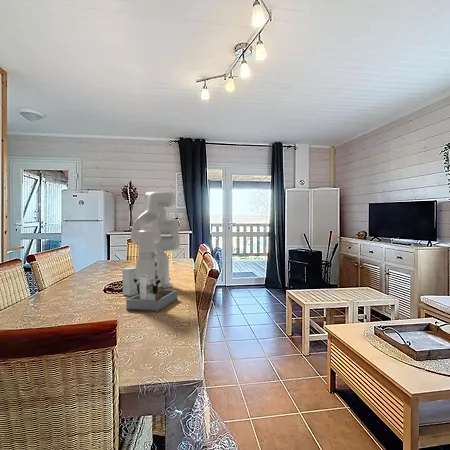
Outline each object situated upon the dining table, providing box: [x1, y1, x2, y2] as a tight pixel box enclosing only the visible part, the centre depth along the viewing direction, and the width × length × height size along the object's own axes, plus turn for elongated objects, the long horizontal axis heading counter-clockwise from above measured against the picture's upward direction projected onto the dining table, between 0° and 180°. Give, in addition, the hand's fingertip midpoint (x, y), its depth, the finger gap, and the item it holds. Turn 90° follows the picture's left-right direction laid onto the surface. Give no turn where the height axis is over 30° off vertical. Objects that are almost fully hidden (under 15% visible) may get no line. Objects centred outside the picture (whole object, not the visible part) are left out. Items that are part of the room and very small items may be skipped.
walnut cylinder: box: [156, 285, 165, 301], centre depth 163 cm, size 5×5×7 cm
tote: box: [125, 289, 178, 313], centre depth 158 cm, size 22×16×5 cm
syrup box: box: [138, 274, 156, 301], centre depth 152 cm, size 6×6×14 cm
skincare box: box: [121, 266, 139, 297], centre depth 181 cm, size 8×6×15 cm
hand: (147, 292), depth 152 cm, fingers closed on syrup box, 7 cm apart
